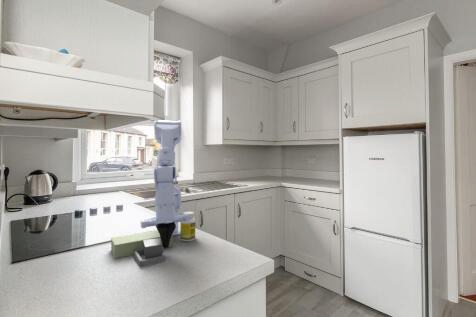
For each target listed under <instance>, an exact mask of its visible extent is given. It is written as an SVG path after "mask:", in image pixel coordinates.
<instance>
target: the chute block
mask: <svg viewBox="0 0 476 317" xmlns="http://www.w3.org/2000/svg"><path fill="white" fill-rule="evenodd" d="M163 249H164V248H163V244H162V242H161V240H160V238H156V239H148V240H143V254H142V255H143V258H144V259H143V260H145V259H150V258H154V257H158V256H163V253H164V252H163Z"/></svg>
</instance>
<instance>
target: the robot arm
mask: <svg viewBox="0 0 476 317" xmlns="http://www.w3.org/2000/svg"><path fill="white" fill-rule="evenodd" d="M153 128H154V129H153V131H154V135H155V140H156V143H158V144H160V145H161V148H160V149H158V151H157V156H156V167H154V169H153V182H154V188H155V189H154V190H155V195H154V209H155V217H150V218H147V219H142V220H140V228H142V229H146V228H148V227H155V228H156V230H158V232H159V234H160V237H161V240H162V244H163V247H164V248H163V249H166V248H167V249H168V248H170V247H169V243H170V239H171V236H172V234H173V236H178V235H179V236H180V232H181V230H179V229H178V228H179V223H181V222H182V221H188V215H187V214H183V213H182V214H179V210H181V209H182V191H181V189H180V188H178V187H177V186H176V182H177V167H176V151H175V147H176V145H178V144H180V143H181V140H182V121H181V120H177V121H176V120H158V121H156V120H155V121H154V126H153Z"/></svg>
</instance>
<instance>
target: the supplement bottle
mask: <svg viewBox="0 0 476 317" xmlns="http://www.w3.org/2000/svg"><path fill="white" fill-rule="evenodd" d="M182 214H187V215H188V221H182V222H180V234H179V236H180V240H181V241H182V242H192V241H194V240H195V239H196V218H194V216H195V214H194V212H193V211H185V212H184V211H183V212H182Z"/></svg>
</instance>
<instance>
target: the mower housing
mask: <svg viewBox="0 0 476 317" xmlns="http://www.w3.org/2000/svg"><path fill="white" fill-rule="evenodd" d="M156 238H160V240H161V237H160V234H159V232H158V230H157V229H154V230H151V231H150V230H149V231H145V232H144V231H143V232H139V233H132V234H127V235H121V236H114V237H111V238H110V240H111V241H110V243H111V247H110V248H111V252H112V254H113V257H114V259H117V258H122V257H127V256H132V255H133V257H134V259H135V261H136V262H137V264H138V266H139V267H140V268H142V267H146V266H151V265H155V264H159V263H163V262H166V258H165V255H163V256H158V257H154V258H150V259H145V260H144V259H143V258H142V257H141V256H142V255H143V240H148V239H156ZM173 238H174V237H173V234H172V236H171V239H170V243H169V247H168V248H171V247H173V246H174V245H173V244H174V242H173V241H174V239H173ZM161 242H162V240H161ZM163 249H165V248H164V247H163Z"/></svg>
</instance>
